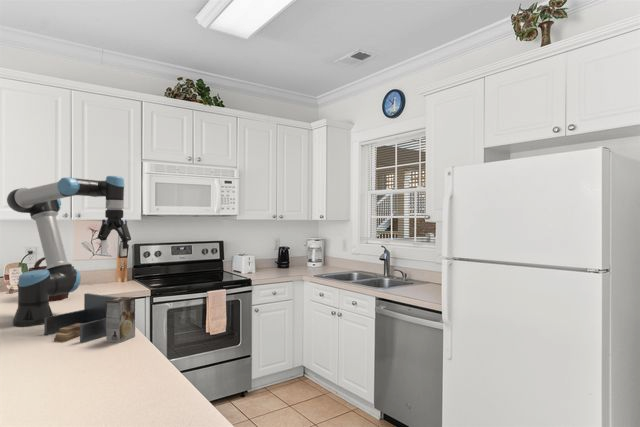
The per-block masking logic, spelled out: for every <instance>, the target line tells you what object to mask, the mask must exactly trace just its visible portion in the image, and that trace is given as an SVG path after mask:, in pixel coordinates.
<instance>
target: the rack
mask: <svg viewBox="0 0 640 427" xmlns="http://www.w3.org/2000/svg"><path fill="white" fill-rule="evenodd" d="M83 295H84V301H83V302H84V304H83V306H84V307H83V309H79V310H76V311H71V312H66V313H61V314H57V315H53V316H51V317H46V318H44V324H43V325H44V326H43V327H44V332H43V335H44V336H50V335H54V334H58V333H59V329H60V328H63V327H67V326H70V325H73V324H76V323H83V324H80V336H79V343H81V344H83V343H87V342H92V341H93V340H97V339H101V338H104V337H105V338H106V301H109V300H113V299H116V298H120V297H119V296H112V295H104V294H96V293H95V294H94V293H88V292H87V293H84V294H83Z"/></svg>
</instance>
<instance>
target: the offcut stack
mask: <svg viewBox="0 0 640 427" xmlns="http://www.w3.org/2000/svg"><path fill="white" fill-rule="evenodd" d="M80 324H83V323H76V324H73V325H70V326H67V327H63V328H60V329H59V332H58V333H54V334H55V336H54V338H53V342H59V343H60V342H69V341H71V340H74V339H76V338H80Z"/></svg>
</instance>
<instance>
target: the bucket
mask: <svg viewBox="0 0 640 427" xmlns="http://www.w3.org/2000/svg"><path fill="white" fill-rule="evenodd" d="M44 261H46V260H45V256H43V257H41V258H40V259H38V260H37V261H35V263H34V266H32V267H29V268H28V269H27V270H28V271H27V272H29V271H34V270H45V269H46V268H47V265H43V266H40V265H41V264H42V262H44ZM72 268H73V269H75V266H72ZM69 295H70V293H67V294H60V295H55V296H49V303H50V302H58V301H59V302H60V301H64V300H65V299H68V297H69Z"/></svg>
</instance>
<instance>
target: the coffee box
mask: <svg viewBox="0 0 640 427" xmlns="http://www.w3.org/2000/svg"><path fill="white" fill-rule="evenodd" d="M135 337H136V297H135V296H134V297H132V296H131V297H130V296H121V297H120V298H116V299H113V300H109V301H106V336H105V338H106V339H105V340H106V343H117V344H120V343H122V342H125V341H128V340H129V339H131V338H135Z"/></svg>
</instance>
